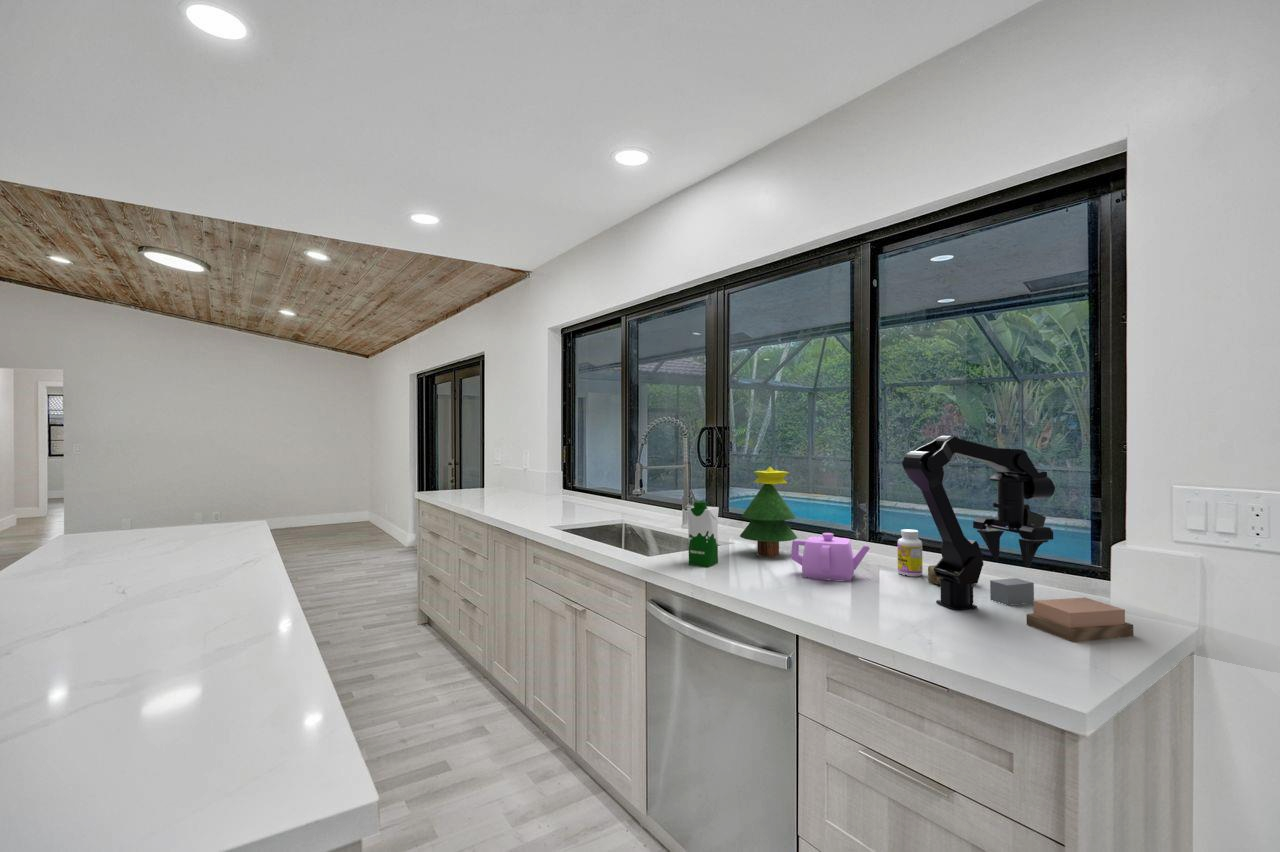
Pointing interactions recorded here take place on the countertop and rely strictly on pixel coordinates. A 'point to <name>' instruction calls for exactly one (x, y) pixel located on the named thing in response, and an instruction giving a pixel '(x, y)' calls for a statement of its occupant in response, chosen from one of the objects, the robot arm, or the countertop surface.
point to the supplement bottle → (909, 553)
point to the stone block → (932, 577)
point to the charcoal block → (1011, 591)
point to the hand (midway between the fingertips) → (1011, 563)
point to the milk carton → (703, 534)
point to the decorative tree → (768, 515)
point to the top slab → (1079, 612)
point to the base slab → (1079, 630)
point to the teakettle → (827, 557)
